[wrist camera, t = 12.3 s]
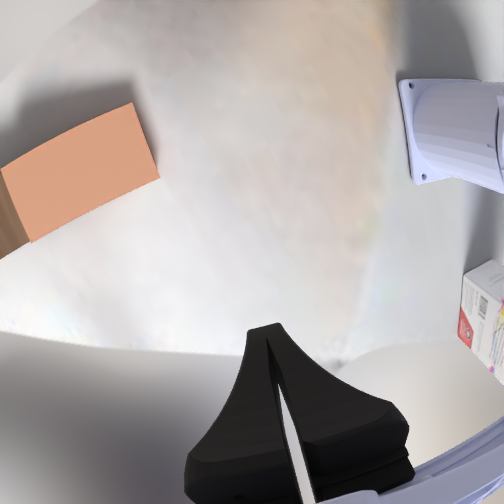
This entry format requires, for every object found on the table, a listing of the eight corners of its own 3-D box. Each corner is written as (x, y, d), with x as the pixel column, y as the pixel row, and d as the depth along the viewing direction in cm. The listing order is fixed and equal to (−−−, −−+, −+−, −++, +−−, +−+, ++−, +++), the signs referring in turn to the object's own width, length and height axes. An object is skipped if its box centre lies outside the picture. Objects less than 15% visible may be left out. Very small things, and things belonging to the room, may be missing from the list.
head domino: (132, 102, 16) (0, 169, 14) (160, 177, 18) (31, 243, 16) (130, 106, 18) (8, 168, 15) (156, 176, 20) (36, 237, 17)
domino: (67, 134, 16) (-39, 200, 14) (95, 205, 18) (-11, 266, 16) (70, 137, 18) (-31, 198, 15) (96, 202, 20) (-4, 259, 17)
